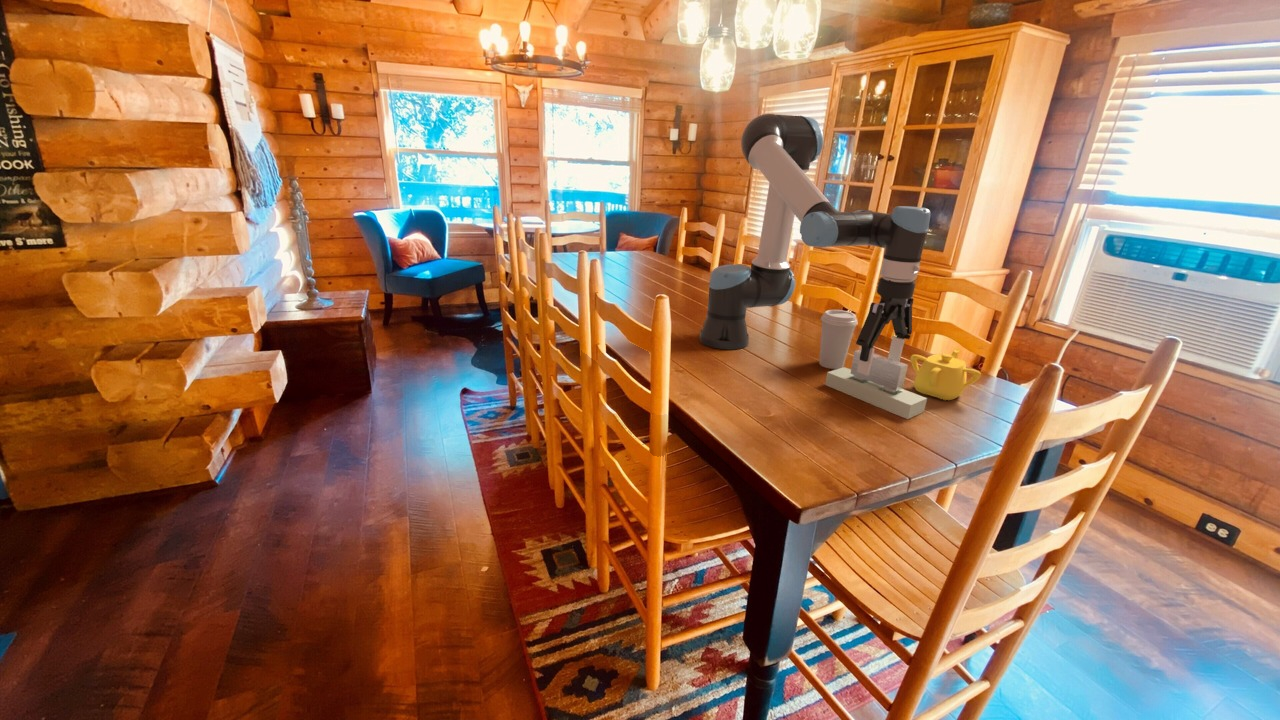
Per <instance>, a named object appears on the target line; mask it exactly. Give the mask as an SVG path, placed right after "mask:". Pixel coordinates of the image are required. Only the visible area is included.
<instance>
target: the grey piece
mask: <svg viewBox="0 0 1280 720" xmlns="http://www.w3.org/2000/svg"><path fill="white" fill-rule="evenodd" d="M861 349H862V348H861ZM861 349H857V350H854V354H853V358H852V363H851V368H850V369H851V373H850V374H853V375H854V376H853V380H855V381H858V382H860V383H865V382H867V380H868V381H871V382H873V383H876V384H879V385H881V386H884V387H883V392H886V393H888V394H891V395H893V396H894V395H896V394H897V393H898V390H900V389H904V384H905V379H906V375H907V371H908V367H909V364H908V363H904V362H901V361H900V362H899V361H896V360H893V359H890V358H888V356H887V357H886V356H883V355H881V354H878V353H876V352H874V355H873V359H872V364H871V369H870V374H869V375H865V374H862V373H859V372H857V369H858V364H859V359H860V354H861Z"/></svg>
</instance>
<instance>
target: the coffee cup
mask: <svg viewBox="0 0 1280 720" xmlns="http://www.w3.org/2000/svg"><path fill="white" fill-rule="evenodd" d="M820 321H821V322H822V323H821V336H820V349H819V365H820V366H821V367H823V368H825V369H830V370H836V369H839V368H843V367H845V363H846V360H847V356H848V351H849V349H850V345H851V342H852V338H853V334H854V332H855V329H856V326H857V325H858V324H859V323H858V322H859V321H858V318H857V315H856V314H855V313H853V312H851V311H847V310H842V309H828V310H826V311H825V312H824V313H823V314H822V316H821V318H820Z"/></svg>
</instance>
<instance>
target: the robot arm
mask: <svg viewBox="0 0 1280 720" xmlns="http://www.w3.org/2000/svg"><path fill="white" fill-rule="evenodd" d="M740 142H741V143H740V145H741V151H742V155H743V156H744V157H743V158H744V159H745V160H746V162H747V163H748V165H750V167H751V168H752V169H753V170H757V171H760V173H761V174H762V176H764V178H765V179H766V180H767V181H768V183H769V185H768V189H767V197H766V202H765V203H766V204H765V210H764V216H763V221H762V228H761V233H760V239H759V245H758V251H757V256H755V257H754V258H753V259H752V260H751V263H750V264H751V265H750V266H748V265H747V264H739V263H738V264H737V263H735V264H733V263H732V264H723V265H719V266H717V267H716V268H714V269H713V270H711V273H710V277H709V282H708V286H709V287H708V288H709V289H708V299H707V311H706V318H705V321H703V324H702V329H700V331H699V337H698V338H699V339H698V340H699V342H700V343H701V344H702V345H705V346H707V347H709V348H714V349H718V350H740V349H744V348H745V347H748V345H749V339H750V336H749V333H748V328H747V323H746V322H747V321H746V314H747V309H750V308H760V307H775V306H779V305H783V304H785V303H787V302H788V301H789V300H790V299H791V298H792V296H793V294H794V291H795V288H796V279H795V275H794V271H792V269H791V264H790V263H789V262H788V260H787V258H788V252H789V247H790V242H791V237H792V236H791V235H792V231H793V226H794V220H795V217H796V218H797V220H799V222H800V226H799V233H800V236H801V240H802V243H804V244H805V245H806V246H808V247H812V248H813V247H817V248H828V247H829V248H830V247H831V248H832V247H845V246H846V247H847V246H848V247H849V246H850V247H852V246H853V247H854V246H873V247H878V248H880V249H881V248H882V249H884V253H883V258H882V263H881V269H880V272H879V275H880V276H881V277H880V278H878V283H877V288H876V294H877V295H879V296H880V299H879V302H878V303H876V302H871V303H870V305H869V306H870V307H869V309H868V313H867V316H866V318H865V321H864V323H863V326H862V328H861V330H860V333H859V335H858V338H857V340H856V345H858V346H860V347H861V354H860V359H859V364H858V369H857V372H859V373H862V374H865V375H869V374H870V369H871V364H872V359H873V355H874V353H875V348H876V347H874V346H875V344H876V342H877V340H878V339H879V337H880V335H881V333H882V332H883V330H884V328H885V327H886V325H888V324H889V323H890V322H891V323H892V327H893V332H894V335H895V336H892V338H891V343H890V347H889V352H888V355H887V358H890V359H893V360H896V361H899V362H901V358H902V353H903V349H904V345H905V340H910V339H911V335H912V333H913V306H914V298H913V296H914V292H915V288H916V284H917V283H916V281H915V280H916V279H917V278H918V273H919V272H920V270H921V267H920V265H921V260H922V256H923V250H924V246H925V243H926V239H927V236H928V232H929V230H930V227H929V226H930V222H931V221H930V219H931V216H932V215H931V210H930V209H928V208H926V207H923V206H922V207H919V206H910V205H909V206H906V205H903V206H902V205H901V206H900V205H898V206H895V207H894V208H893V209H892V212H891V213H886V212H885V213H884V212H878V211H873V210H871V209H870V210H869V209H868V210H867V209H866V210H864V209H859V210H855V211H839V210H838V209H836V207H835V206H834V205H833V204H832V203H831V202H830V201H829V200H828V198H827V197H826V196H825V195H824V194H823V192H822V191H821V190H820V189H819V188H818V187H817V186H816V184H814V182H813V181H812V180H811V178H810V177H809V176H808V175H807V172H809V170H810V165H811V163H813V162H814V161H816V160H817V159H818V157H819V156H820V155H821V153H822V150H823V146H824V132H823V128H822V127H821V126H820V123H819V122H818V121H817V120H816V119H814V118H812V117H809V116H803V115H788V114H774V113H764V114H760V115H757V117H754V119H751V121H750V122H749V123H748V124H747V126H745V128H744V131H743V132H742V135H741V141H740Z"/></svg>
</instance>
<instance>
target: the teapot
mask: <svg viewBox="0 0 1280 720" xmlns="http://www.w3.org/2000/svg"><path fill="white" fill-rule="evenodd" d="M959 354H960V349H959V348H955V349H954V350H953V351H952V353H951V354H948V353H941V354H937V353H936V354H935V353H934V354H932V355H930V356H928V357H926V356H923V355H920V354H912V355H911V356H910V363H911V365H912V368H913V370H914V371H915V373H916V375H915V378H914V381H913V383H914V384H913V385H914V389H915V391H917V392H919V393H920V394H923V395H927V396H930V397H934V398H937V399H939V400H942V399H943V400H942V401H946V400H948V401H951V400H954V399H956V398H958V397H959V396H961V395H962V393H963V392H964V391H965V390H966V388H967V387H968V386H971V385H972V384H973V383H975V382H977V381H978V380H979V379H980V378H981V376H982V373H981V372H980V371H979V370H976V369H974V368H973V369H972V368H968V367H967V365H966V361H965V360H962V359H959V357H958V356H959ZM918 360H921V361H923V363H922V364H921V366H920V367H919V364H918ZM967 373H969V374H971V375H972V376H971V378H970V379H968V381H967V375H968V374H967Z"/></svg>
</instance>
